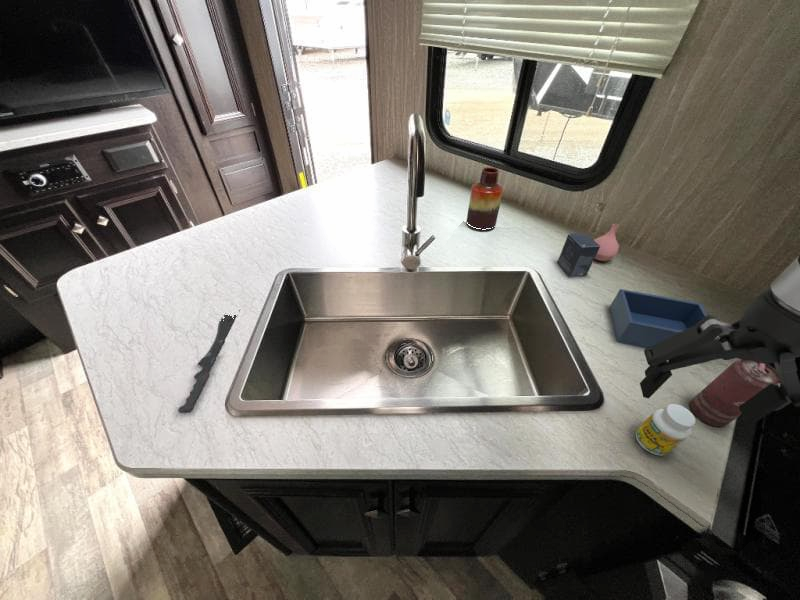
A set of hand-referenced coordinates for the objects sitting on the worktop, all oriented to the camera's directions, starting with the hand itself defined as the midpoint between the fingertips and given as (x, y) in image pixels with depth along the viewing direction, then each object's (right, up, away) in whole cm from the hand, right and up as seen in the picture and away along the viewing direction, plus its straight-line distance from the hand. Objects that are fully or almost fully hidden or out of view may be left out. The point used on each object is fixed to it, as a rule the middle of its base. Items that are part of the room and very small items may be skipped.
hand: (692, 402), depth 50 cm
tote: (+16, +8, +29) cm, 34 cm away
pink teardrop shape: (+18, +29, +53) cm, 63 cm away
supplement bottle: (0, -10, +8) cm, 13 cm away
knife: (-90, +4, +25) cm, 93 cm away
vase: (-16, +44, +70) cm, 84 cm away
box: (+7, +26, +48) cm, 55 cm away
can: (+15, -6, +13) cm, 20 cm away
